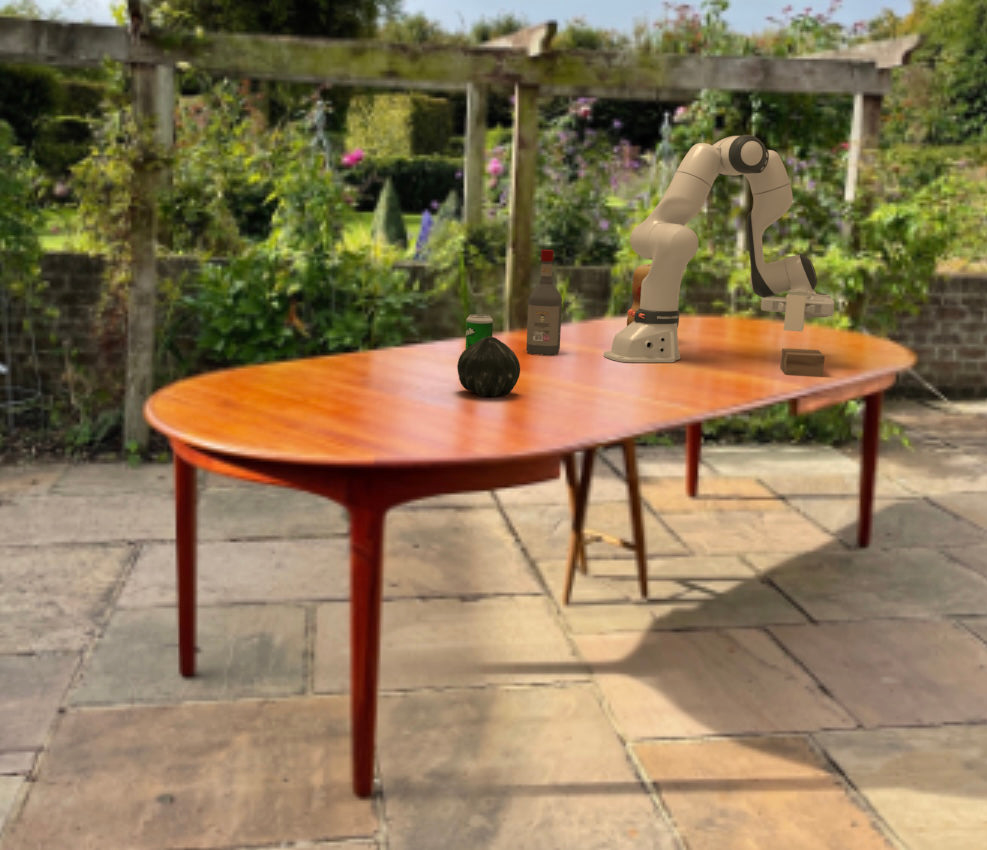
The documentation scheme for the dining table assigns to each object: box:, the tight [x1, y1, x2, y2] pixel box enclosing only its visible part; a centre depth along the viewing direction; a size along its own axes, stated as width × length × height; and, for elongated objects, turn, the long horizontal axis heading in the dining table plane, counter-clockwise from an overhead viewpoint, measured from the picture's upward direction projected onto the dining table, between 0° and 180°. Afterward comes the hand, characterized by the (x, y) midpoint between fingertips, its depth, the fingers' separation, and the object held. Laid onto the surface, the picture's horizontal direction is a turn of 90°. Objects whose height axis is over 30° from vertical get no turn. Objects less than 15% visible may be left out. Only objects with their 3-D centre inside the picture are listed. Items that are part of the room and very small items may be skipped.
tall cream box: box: [783, 290, 807, 332], centre depth 307 cm, size 5×5×11 cm
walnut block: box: [779, 347, 826, 378], centre depth 303 cm, size 10×10×6 cm
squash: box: [457, 336, 521, 398], centre depth 260 cm, size 14×15×15 cm
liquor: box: [525, 249, 563, 356], centre depth 319 cm, size 9×9×30 cm
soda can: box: [465, 313, 494, 350], centre depth 309 cm, size 8×8×12 cm
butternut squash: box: [626, 262, 652, 327], centre depth 346 cm, size 14×13×25 cm
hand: (795, 308), depth 306 cm, fingers closed on tall cream box, 5 cm apart
